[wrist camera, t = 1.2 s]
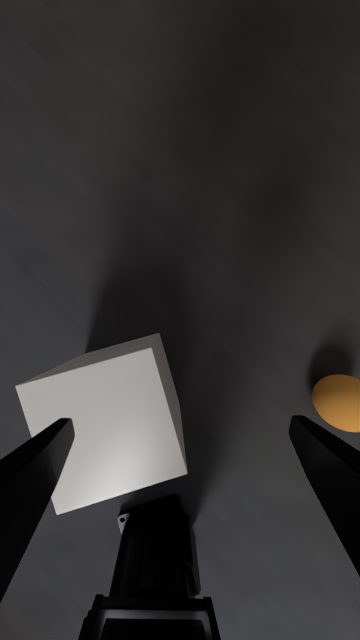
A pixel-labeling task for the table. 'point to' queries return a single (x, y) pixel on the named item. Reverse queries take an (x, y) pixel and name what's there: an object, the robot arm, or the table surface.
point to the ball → (338, 401)
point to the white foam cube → (110, 420)
